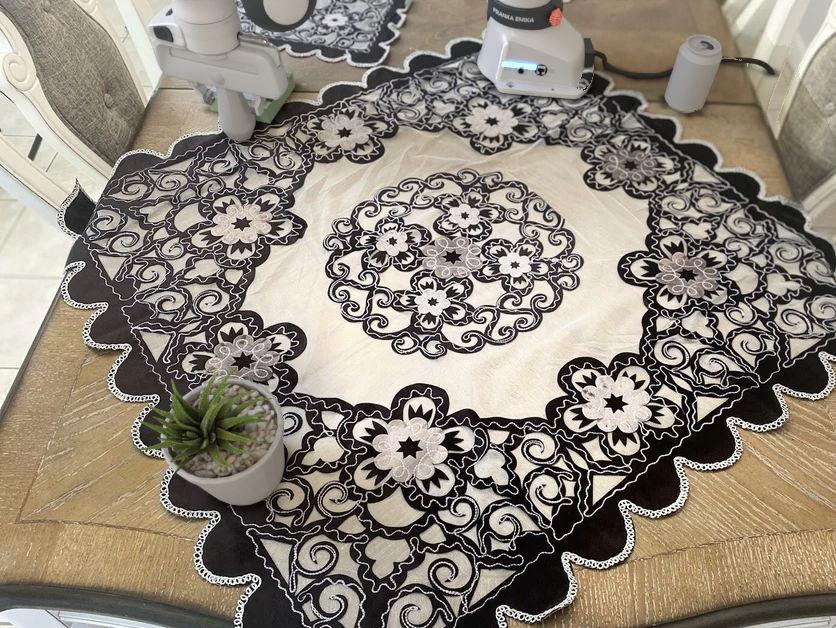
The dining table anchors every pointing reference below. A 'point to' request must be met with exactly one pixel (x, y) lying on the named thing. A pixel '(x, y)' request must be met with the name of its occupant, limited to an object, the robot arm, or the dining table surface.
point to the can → (693, 73)
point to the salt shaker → (233, 112)
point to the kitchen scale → (264, 101)
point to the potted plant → (225, 439)
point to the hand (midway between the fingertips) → (233, 107)
